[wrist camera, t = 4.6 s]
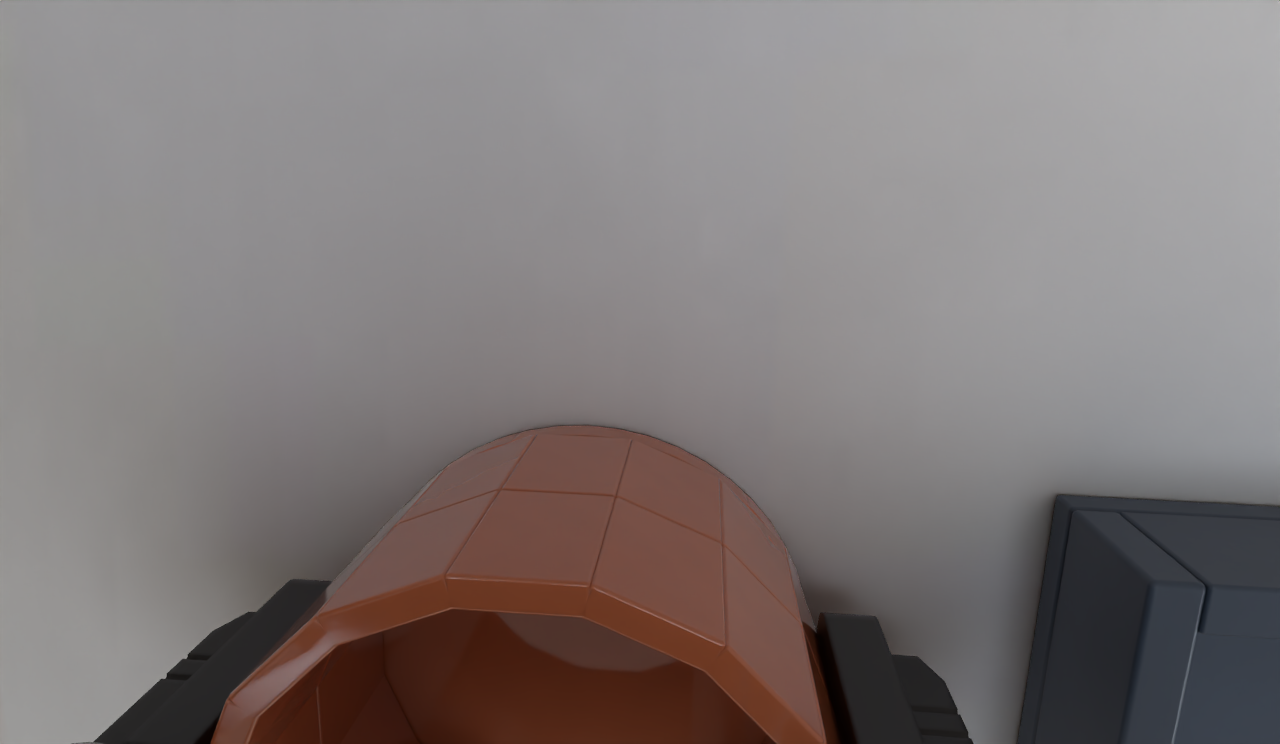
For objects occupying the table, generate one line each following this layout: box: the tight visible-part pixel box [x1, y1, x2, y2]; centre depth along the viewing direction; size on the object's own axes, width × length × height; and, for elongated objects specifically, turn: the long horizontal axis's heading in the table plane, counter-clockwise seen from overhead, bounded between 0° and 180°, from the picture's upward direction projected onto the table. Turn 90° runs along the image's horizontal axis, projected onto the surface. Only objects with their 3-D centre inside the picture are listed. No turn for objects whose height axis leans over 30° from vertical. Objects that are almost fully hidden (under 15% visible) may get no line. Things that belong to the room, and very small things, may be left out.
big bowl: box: [210, 425, 843, 744], centre depth 10 cm, size 6×6×4 cm
